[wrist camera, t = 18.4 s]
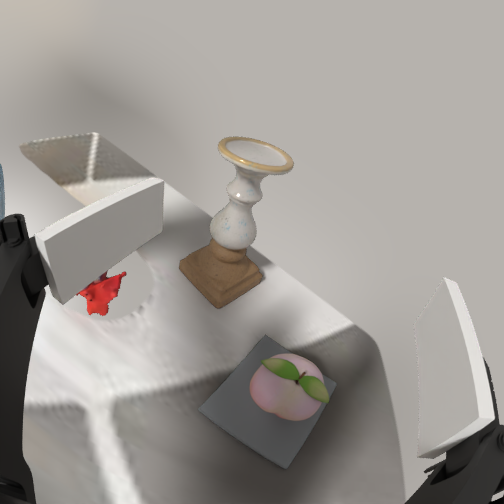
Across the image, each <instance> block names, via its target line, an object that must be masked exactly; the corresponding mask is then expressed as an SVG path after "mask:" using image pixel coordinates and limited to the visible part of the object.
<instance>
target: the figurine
mask: <svg viewBox="0 0 504 504" xmlns="http://www.w3.org/2000/svg"><path fill="white" fill-rule="evenodd" d="M107 271H108V270H107ZM107 271H106V272H105V273H103V274H102V275H101V276H99V277H98V278H97V279H95V280H94V281H93V282H92V283H90V284H89V285H88V286H86V287H85V288H84V289H82V290H81V291H80V292H79V293H77V294H76V295H78V294H80V295H82V296H83V297H85V298H86V299H87V311H88V313H89V315H91V314H92V313H99V314H100V315H102V316H103V315H106V313H108V309H109V308H108V305H107V304H108V303H109V302H110V300H113V298H114V297H117V296H118V295H117V294H118V291H119V290H118V289H119V288H120V284H121V279H122V277H123V276H126V272H122V274H119V275H116V276H113V277H110V278H107V277H106V275H107Z"/></svg>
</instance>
